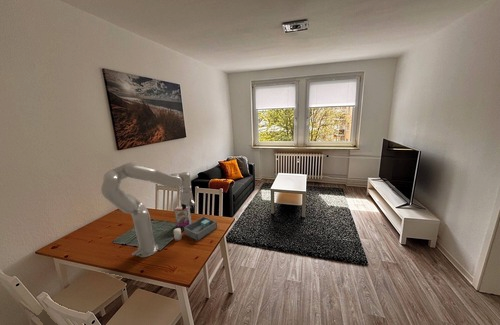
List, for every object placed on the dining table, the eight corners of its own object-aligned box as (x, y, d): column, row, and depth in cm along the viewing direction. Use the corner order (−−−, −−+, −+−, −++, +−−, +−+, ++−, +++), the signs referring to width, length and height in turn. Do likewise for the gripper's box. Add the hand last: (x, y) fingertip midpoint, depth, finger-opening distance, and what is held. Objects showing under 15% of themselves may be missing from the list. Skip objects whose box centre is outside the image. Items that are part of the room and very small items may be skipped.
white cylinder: (177, 241, 144) (175, 232, 142) (173, 238, 146) (172, 230, 145) (183, 237, 147) (181, 229, 146) (179, 235, 150) (178, 227, 149)
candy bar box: (176, 227, 162) (173, 209, 157) (179, 223, 166) (176, 206, 162) (189, 227, 160) (187, 209, 156) (192, 223, 165) (189, 206, 161)
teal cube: (205, 229, 154) (205, 224, 153) (201, 227, 157) (200, 222, 156) (210, 226, 158) (209, 221, 157) (206, 224, 161) (205, 219, 160)
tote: (197, 241, 142) (196, 234, 141) (184, 234, 151) (183, 227, 150) (217, 228, 157) (216, 221, 156) (204, 222, 166) (203, 216, 165)
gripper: (174, 188, 145) (177, 209, 149) (188, 193, 135) (191, 216, 139) (183, 185, 151) (185, 205, 155) (197, 190, 141) (199, 212, 145)
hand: (188, 210), depth 147 cm, fingers open, 9 cm apart
